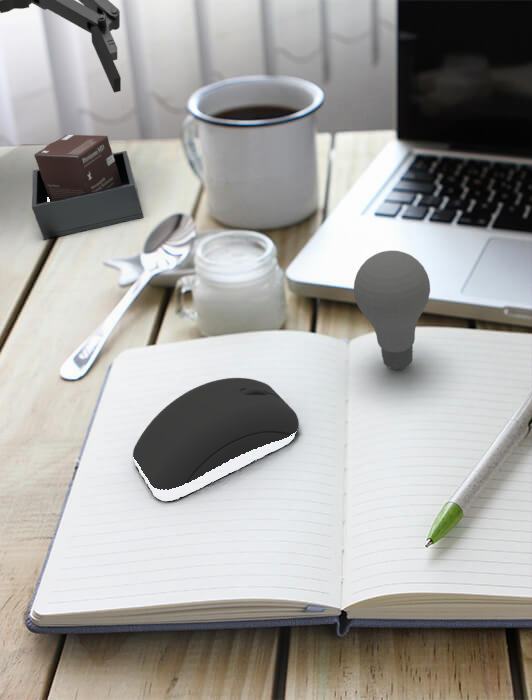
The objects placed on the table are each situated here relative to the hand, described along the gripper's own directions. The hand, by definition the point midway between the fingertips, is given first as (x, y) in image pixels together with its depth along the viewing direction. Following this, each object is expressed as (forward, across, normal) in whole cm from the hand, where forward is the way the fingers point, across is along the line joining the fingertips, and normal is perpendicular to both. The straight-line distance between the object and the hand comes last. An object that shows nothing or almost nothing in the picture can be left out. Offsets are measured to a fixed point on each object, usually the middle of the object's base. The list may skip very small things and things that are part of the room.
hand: (55, 101), depth 84 cm
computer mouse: (+42, -2, -24) cm, 49 cm away
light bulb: (+42, +13, -24) cm, 50 cm away
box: (+9, 0, +9) cm, 13 cm away
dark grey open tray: (+9, 0, +9) cm, 13 cm away
